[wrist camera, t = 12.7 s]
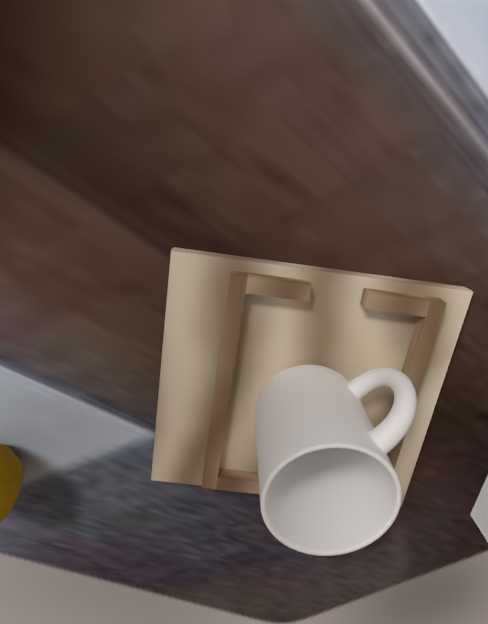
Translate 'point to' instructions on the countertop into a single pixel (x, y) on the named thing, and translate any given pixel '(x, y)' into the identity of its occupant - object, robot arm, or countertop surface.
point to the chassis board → (287, 354)
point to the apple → (9, 480)
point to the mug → (329, 457)
